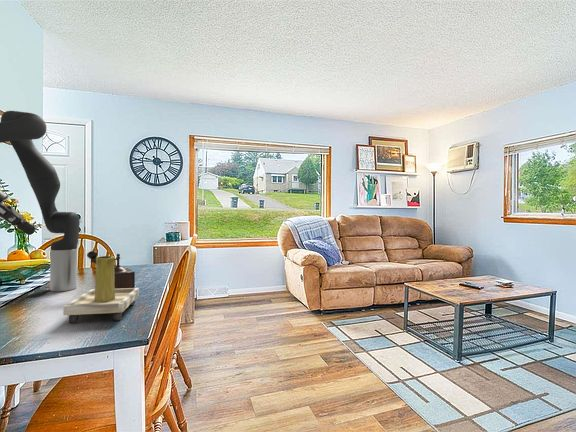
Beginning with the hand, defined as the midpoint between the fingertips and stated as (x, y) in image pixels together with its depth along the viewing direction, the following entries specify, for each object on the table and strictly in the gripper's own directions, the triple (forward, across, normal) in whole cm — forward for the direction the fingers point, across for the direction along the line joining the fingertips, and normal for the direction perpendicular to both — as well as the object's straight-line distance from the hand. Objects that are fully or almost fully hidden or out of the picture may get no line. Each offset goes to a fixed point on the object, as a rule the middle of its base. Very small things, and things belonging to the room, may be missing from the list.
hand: (32, 232), depth 94 cm
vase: (+29, -6, +3) cm, 30 cm away
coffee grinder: (+36, +19, +2) cm, 41 cm away
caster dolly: (+32, -6, +6) cm, 34 cm away
